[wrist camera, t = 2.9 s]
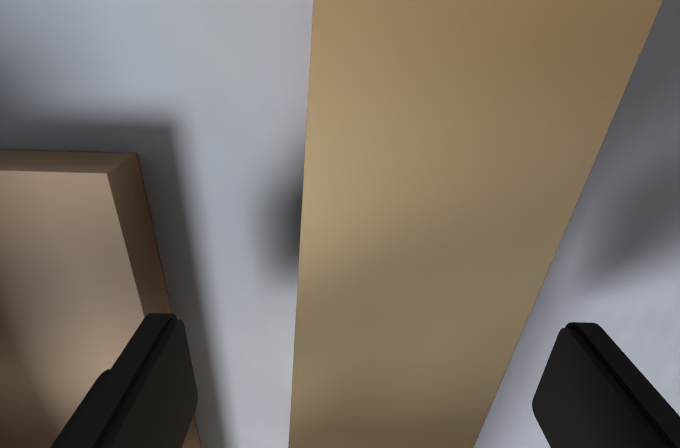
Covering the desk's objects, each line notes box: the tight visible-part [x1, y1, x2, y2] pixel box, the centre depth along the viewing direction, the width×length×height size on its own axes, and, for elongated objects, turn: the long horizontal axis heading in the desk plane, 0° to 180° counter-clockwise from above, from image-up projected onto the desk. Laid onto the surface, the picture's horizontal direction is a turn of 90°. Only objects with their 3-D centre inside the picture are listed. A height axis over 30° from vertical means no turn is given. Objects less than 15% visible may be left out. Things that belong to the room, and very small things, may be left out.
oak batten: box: [289, 0, 663, 448], centre depth 10 cm, size 26×3×6 cm, turn 174°
